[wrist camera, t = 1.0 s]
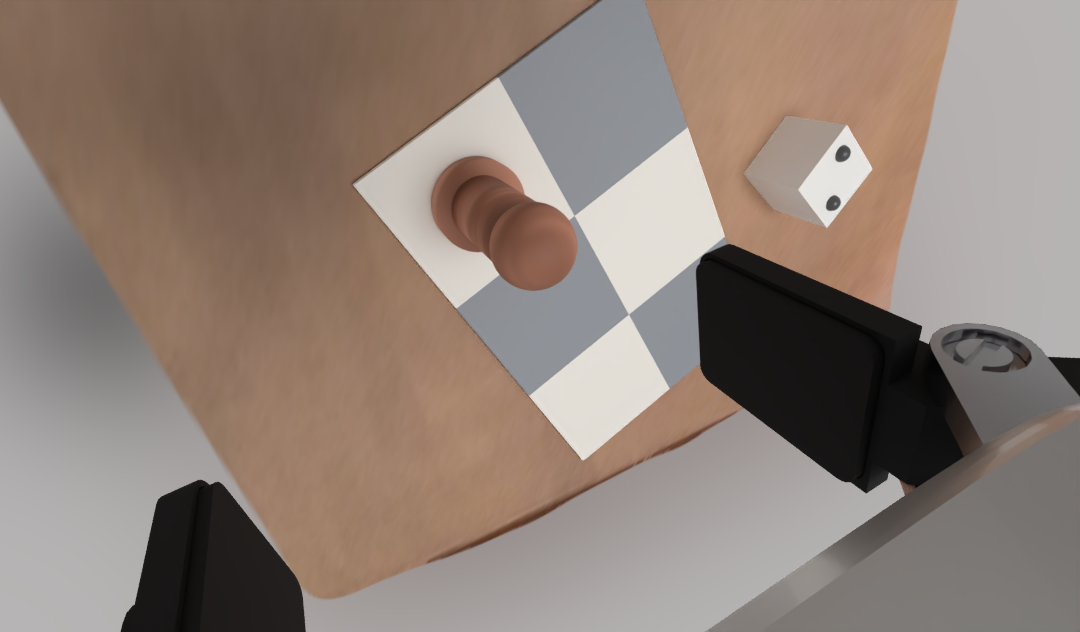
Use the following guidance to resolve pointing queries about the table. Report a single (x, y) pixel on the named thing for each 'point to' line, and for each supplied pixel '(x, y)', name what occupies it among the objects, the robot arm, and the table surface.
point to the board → (575, 220)
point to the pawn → (503, 223)
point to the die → (809, 169)
